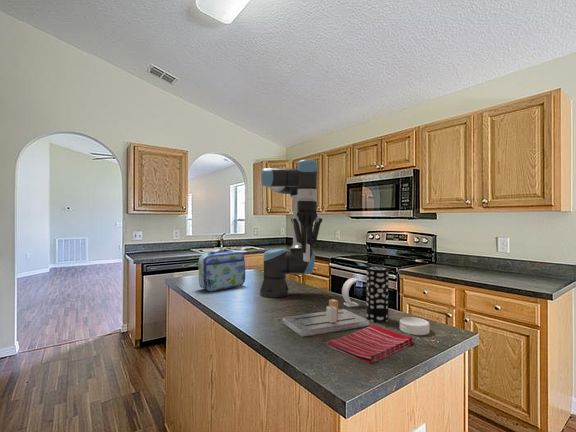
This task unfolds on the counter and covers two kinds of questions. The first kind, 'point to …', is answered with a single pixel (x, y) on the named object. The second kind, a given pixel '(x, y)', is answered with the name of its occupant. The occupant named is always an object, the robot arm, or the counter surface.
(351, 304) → the headphone stand
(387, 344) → the dish towel
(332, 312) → the fader cream
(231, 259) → the lunch box
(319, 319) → the console
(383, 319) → the white-spotted black cylinder
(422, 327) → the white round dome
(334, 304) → the fader terracotta
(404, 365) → the counter surface
